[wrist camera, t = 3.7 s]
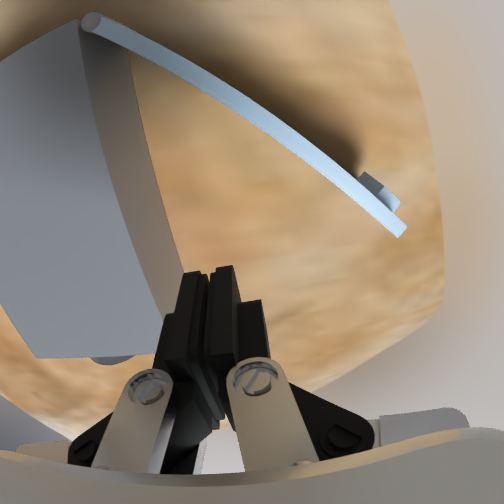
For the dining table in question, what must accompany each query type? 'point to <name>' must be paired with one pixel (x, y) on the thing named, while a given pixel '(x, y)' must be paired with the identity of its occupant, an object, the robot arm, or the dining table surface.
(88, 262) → the grey block
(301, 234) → the dining table surface
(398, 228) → the side door
